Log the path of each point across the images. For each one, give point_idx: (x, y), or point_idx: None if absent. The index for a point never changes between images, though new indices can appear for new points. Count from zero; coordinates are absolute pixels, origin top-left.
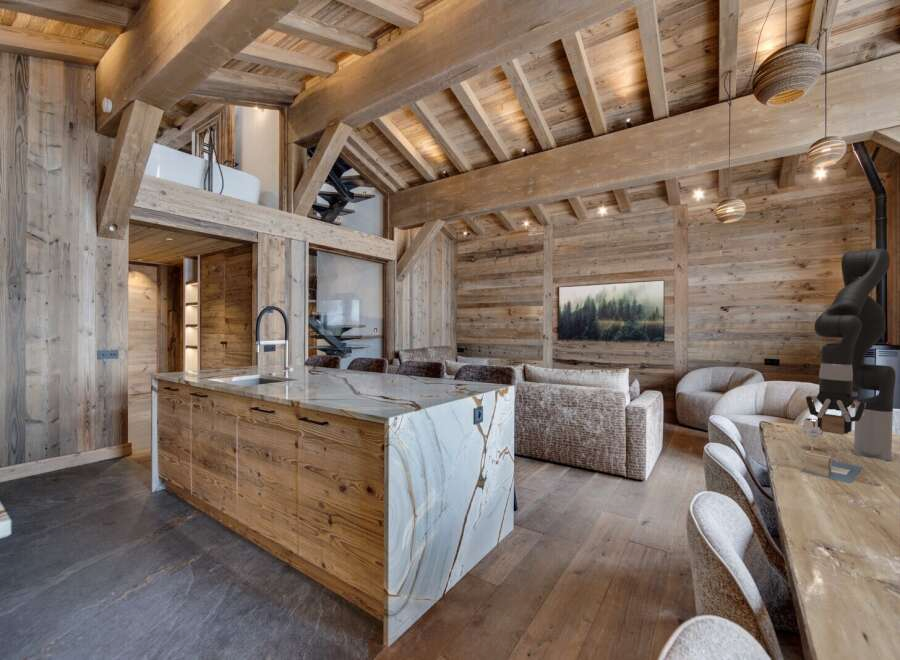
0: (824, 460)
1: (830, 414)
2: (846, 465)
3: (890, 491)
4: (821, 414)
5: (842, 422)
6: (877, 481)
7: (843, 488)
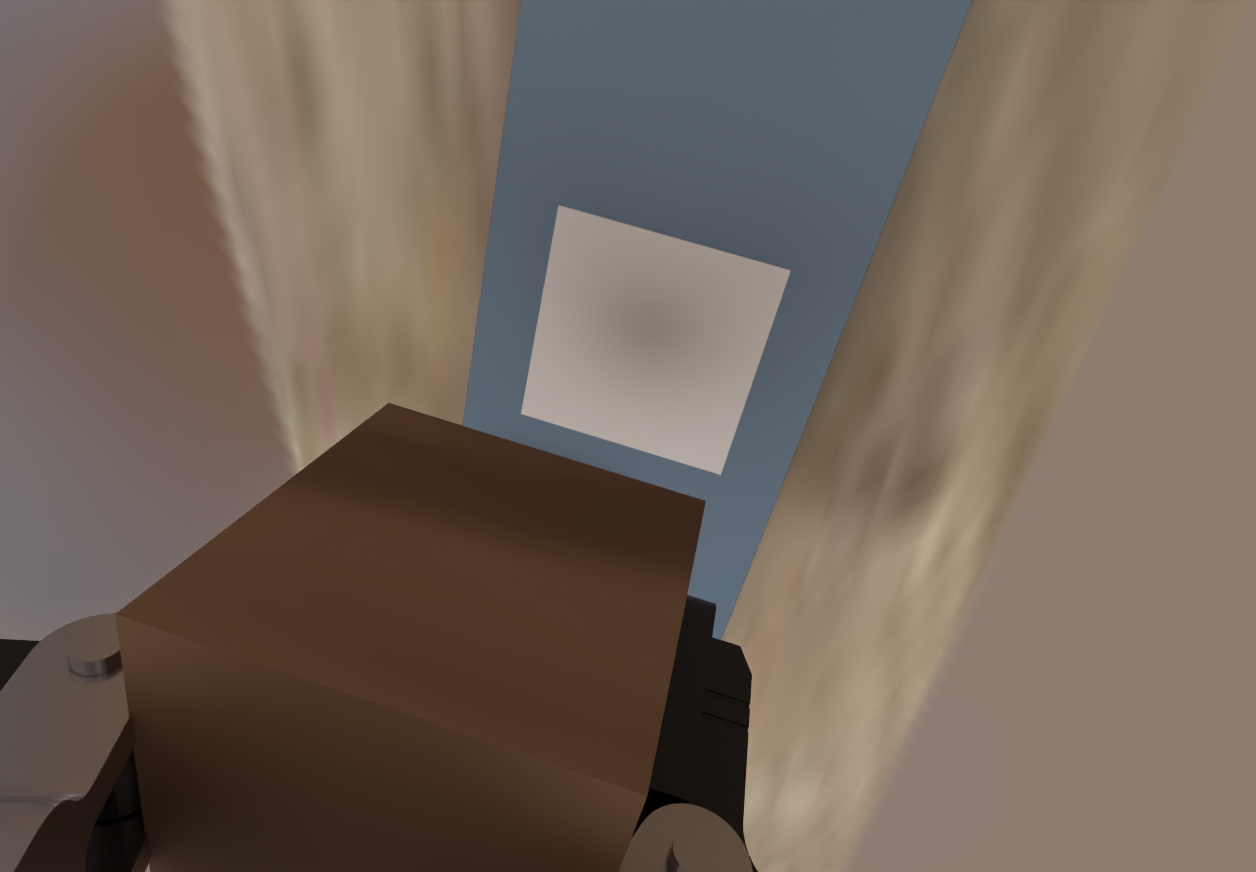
0: None
1: (237, 661)
2: (801, 45)
3: (955, 605)
4: (110, 852)
5: None
6: (962, 381)
7: None
